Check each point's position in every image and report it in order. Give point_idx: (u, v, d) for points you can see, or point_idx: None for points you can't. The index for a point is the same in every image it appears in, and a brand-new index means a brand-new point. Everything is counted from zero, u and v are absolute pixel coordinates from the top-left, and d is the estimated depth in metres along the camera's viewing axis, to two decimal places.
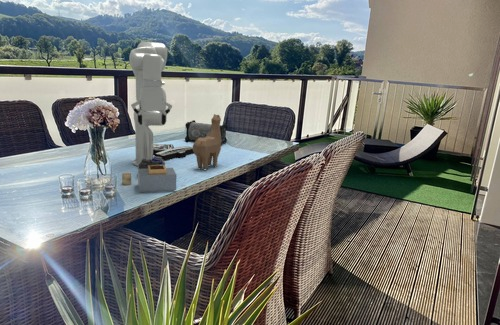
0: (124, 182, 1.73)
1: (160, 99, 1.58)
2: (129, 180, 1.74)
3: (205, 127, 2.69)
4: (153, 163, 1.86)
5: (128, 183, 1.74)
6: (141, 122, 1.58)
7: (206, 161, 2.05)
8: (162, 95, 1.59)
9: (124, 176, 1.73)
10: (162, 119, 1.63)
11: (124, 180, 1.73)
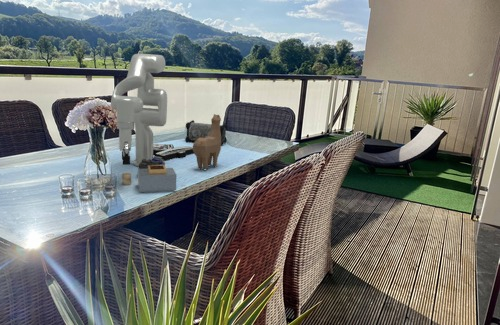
0: (124, 182, 1.73)
1: None
2: (129, 180, 1.74)
3: (206, 127, 2.69)
4: (153, 163, 1.86)
5: (128, 183, 1.74)
6: None
7: (206, 161, 2.05)
8: None
9: (124, 176, 1.73)
10: None
11: (124, 180, 1.73)
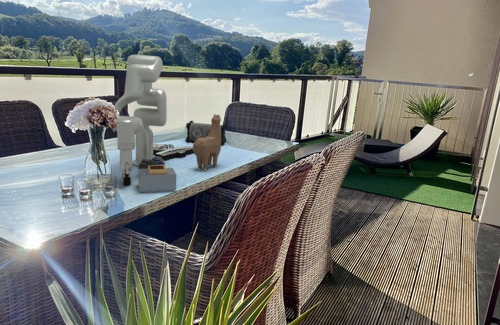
0: None
1: None
2: None
3: (206, 127, 2.69)
4: (153, 163, 1.86)
5: None
6: (130, 182, 1.74)
7: (206, 161, 2.05)
8: None
9: None
10: None
11: None
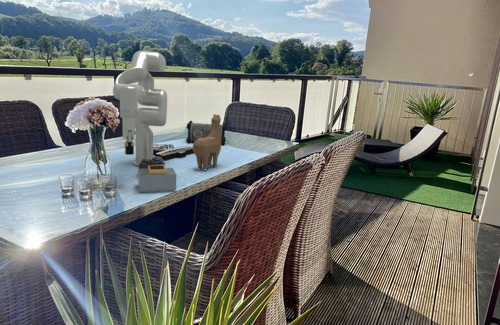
0: None
1: None
2: None
3: (207, 127, 2.70)
4: (153, 163, 1.86)
5: None
6: None
7: (206, 161, 2.05)
8: None
9: None
10: None
11: None
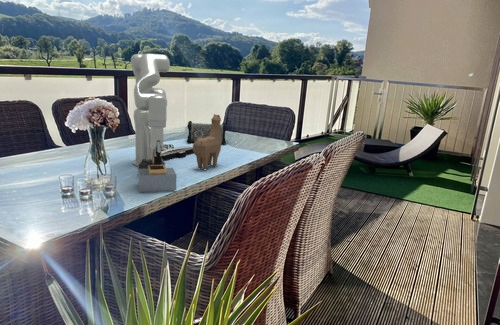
0: None
1: None
2: None
3: (208, 127, 2.70)
4: None
5: None
6: None
7: (206, 161, 2.05)
8: None
9: None
10: None
11: None
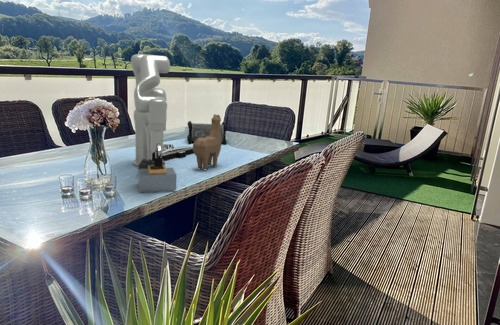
0: None
1: None
2: None
3: (208, 127, 2.70)
4: (153, 163, 1.86)
5: None
6: None
7: (206, 161, 2.05)
8: None
9: None
10: None
11: None
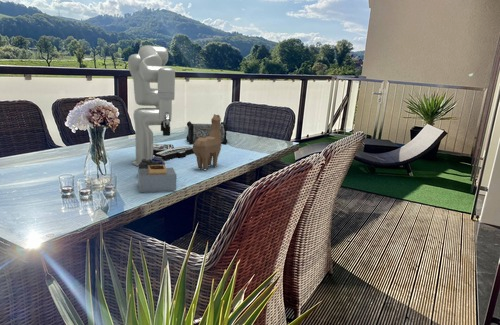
0: None
1: None
2: None
3: (209, 127, 2.70)
4: (153, 163, 1.86)
5: None
6: None
7: (206, 161, 2.05)
8: None
9: None
10: None
11: None
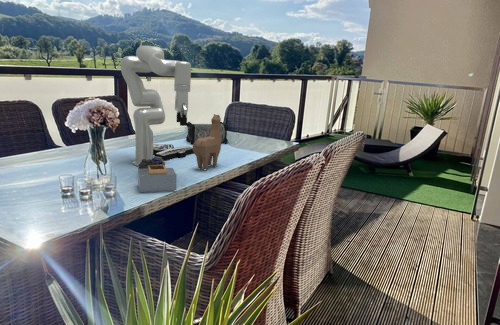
0: None
1: None
2: None
3: (210, 127, 2.70)
4: (153, 163, 1.86)
5: None
6: (186, 123, 1.77)
7: (206, 161, 2.05)
8: None
9: None
10: None
11: None
